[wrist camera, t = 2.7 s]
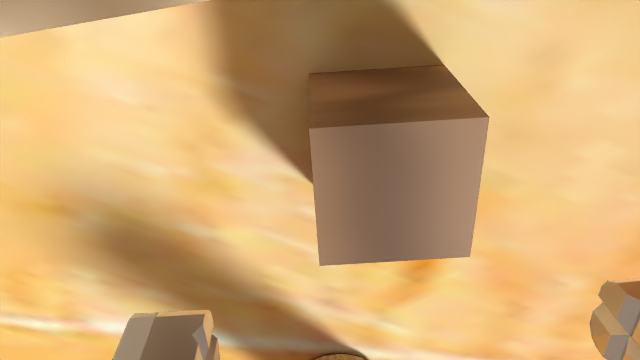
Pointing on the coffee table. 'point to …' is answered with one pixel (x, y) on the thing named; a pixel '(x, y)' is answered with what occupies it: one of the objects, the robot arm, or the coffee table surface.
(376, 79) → the walnut cube
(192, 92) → the coffee table surface
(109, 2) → the oak block
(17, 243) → the coffee table surface
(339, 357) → the sprinkles bottle
